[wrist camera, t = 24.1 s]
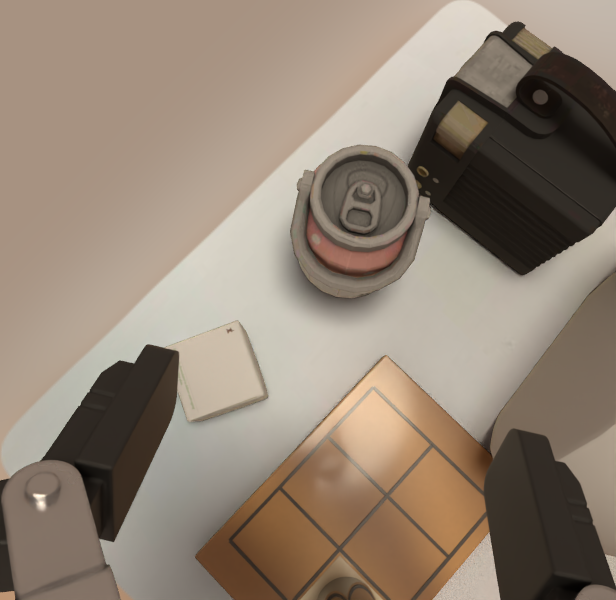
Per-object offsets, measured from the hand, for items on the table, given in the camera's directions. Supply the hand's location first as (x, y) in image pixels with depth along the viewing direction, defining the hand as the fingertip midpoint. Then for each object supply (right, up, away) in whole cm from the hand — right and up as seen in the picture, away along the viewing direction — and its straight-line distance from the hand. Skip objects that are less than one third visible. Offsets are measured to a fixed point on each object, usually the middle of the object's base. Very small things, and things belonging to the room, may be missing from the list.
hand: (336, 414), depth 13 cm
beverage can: (+2, +6, +32) cm, 33 cm away
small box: (-7, -3, +30) cm, 31 cm away
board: (+3, -13, +28) cm, 31 cm away
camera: (+15, +12, +34) cm, 39 cm away
